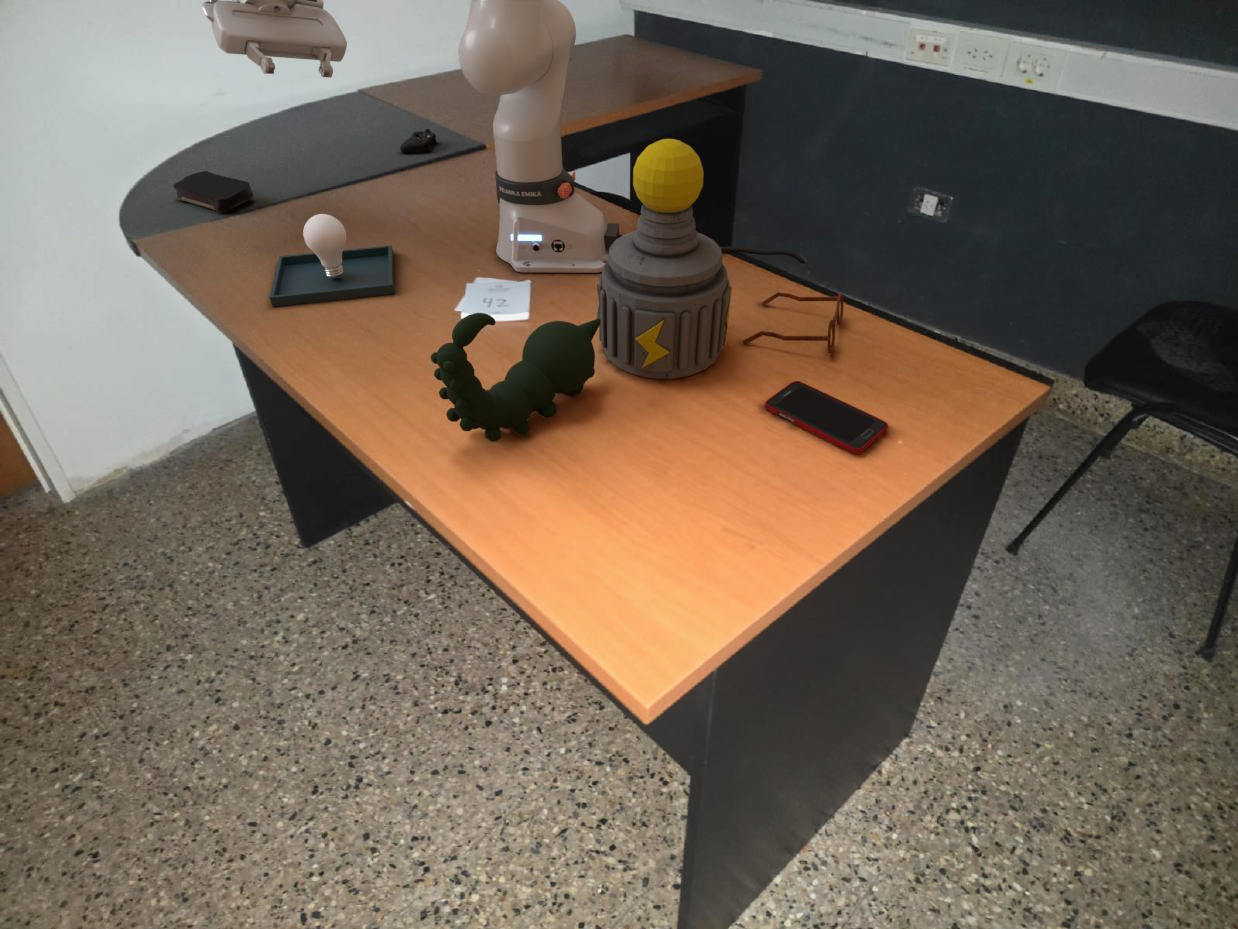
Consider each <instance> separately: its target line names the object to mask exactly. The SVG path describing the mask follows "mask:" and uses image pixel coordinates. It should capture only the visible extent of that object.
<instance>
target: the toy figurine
mask: <svg viewBox="0 0 1238 929" xmlns="http://www.w3.org/2000/svg"><path fill="white" fill-rule="evenodd" d="M496 323H497V321H496V320H495V318H494V317H493V316H491V315H490V314H488V313H484V312H474V313H470V314H468V315H466V316H464V317H463V318H462V319H460V320H459V321H458V322H456V324H455V325H454V327H453V329H452V333H451V339H452V342H447V343H444V344H443V345H441V346H440V347H439V348H438V349H437V351H435V352H433V353H431V355H430V361H431V362H432V363H433V364H435V365H437V366H438V368H436V369H435V370H434V372H433V376H434V378H435V379H436V380H437V381H440V382H442V383H443V384H444V387H441V388H440V389H439V391H438V395H439V398H441V399H442V400H449V401H450V402H451V404H453V405H454V407H450V408H449V409H448V410H447V411H446V415H445V416H446V418H447V420H448V421H449V422H451V423H453V422H455V423H457V422H459V421H460V422H459V423H458V424H459V427H460V429H461V430H462V431H464V432H470V431H472V430H477V429H481V430H482V431H484V438H485V439H487V440H488V441H489V442H490V443H496V442H498V441H499V440H500V439H501V438H502V430H501V429H502V428H503V429H513V430H514V432H515V433H516V434H517V435H520V436H523V435H527V434H528V433H529V431H530V429H531V426H530V423H529V421H528V420H529V419H530V418H531V416H532V414H533V413H536V412H537V414H538V415H540V416H541V417H543V419H546V420H549V419H551V418H554V417H555V415H556V414H557V412H558V405H557V404H556V402H554V398H556V395H560V394H562V395H565V396H570V397H575V396H577V395H580V394H581V393H582V392H583V390H584V387H585V383H587V382H588V380H590V379H591V378H593V377H594V376H595V374H596V373H595V372H596V370H595V362H596V353H595V348H594V344H593V342H592V341H593V339H594V337H595V335H596V333H597V331H598V330H599V325H600V323H601V320H600V319H596V318H595V319H592V320H590V321H587V322H584V323H581V324H579V325H577V324H575V323H572V322H570V321H564V320H553V321H549V322H546V323H543V324H541V325H540V326H538V327H537V328H535V329H534V330H533V331H532V332H531V333H530V334H529V336H528V337H527V338H526V340H525V342H524V344H523V348H522V349H523V350H522V354H521V355H522V356H521V360H520V361H518V362H516V363H515V364H513V365H512V366H511V367H510V368H509V369H508V370H507V372H506V375H505V377H504V379H503V380H501V381H499V382H496V383H494V384H493V385H492V386H491V387H490V389H485V388H484V387H483V384H482V382H481V381H480V379H479V378H478V377H477V375H475V369H474V366H473V364H472V363H471V361H469V360H468V354H467V351H466V350H465V348H464V347H467V346H469V345H470V344H471V343H473V342H474V340H475V339H476V337H477V336H478V334H479V333H480V332H481V331H482V330H483V329H484V328H486V327H487V326H495V325H496Z"/></svg>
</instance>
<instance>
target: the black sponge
mask: <svg viewBox="0 0 1238 929" xmlns="http://www.w3.org/2000/svg"><path fill="white" fill-rule="evenodd" d="M173 188H174V189H175V192H176V197H177V200H179V201H183V202H186V203H190V204H193V205H197V206H201V207H204V208H207V209H210V210H213V211H215V212H217V213H227V212H229V211H231V210H233V209H234V208H236V207H238V206H240V205H241V204H244V203H246V202H248V201H250V200H251V199H252V198H253V196H254V192H253V189H252V187H251V184H250V183H249V182H248V181H245V180H241V179H237V178H232V177H228V176H225V175H221V174H216V173H213V172H211V171H208V170H202V171H199V172H194V173H192V174H189V175H187V176H184V177H183V178H182V179H181V180H179V181H177V182H175V183H174V184H173Z"/></svg>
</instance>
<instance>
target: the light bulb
mask: <svg viewBox="0 0 1238 929" xmlns="http://www.w3.org/2000/svg"><path fill="white" fill-rule="evenodd" d="M302 236H303V240H304V243H305V244H306V246H307V247H308V249H309V250H311V252H312V253H315V254H316V255H317V256H318V258H319V259H320V261H321V264H322V265H323V266H324V267H325V268H324V270H325V273H326V275H327V277H329V278H333V279H336V278H339V277H341V276H342V275H343V267H342V252H343V250H344V248H345V245H346V242H347V231H346V228H345V226H344V224H343V223H342V222H341V221H340V220H339V219H338V218H336V217H335V216H333V215H331V214H328V213H327V214H326V213H318V214H315V215H313V216H311V217H309V219H308V220H307V221H306V222H305V223H304V226H303V232H302Z"/></svg>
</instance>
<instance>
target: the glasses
mask: <svg viewBox="0 0 1238 929" xmlns="http://www.w3.org/2000/svg"><path fill="white" fill-rule="evenodd" d="M779 297H783V298H787V299H791V300H795V301H797V302H836V310H835V311H834V314H833V316H832V319H830V320H829V323H828V327H827V335H783V334H780V333H778V332H777V333H776V332H774V331H773V332H772V331H763V330H761V331H759V332H756V333H755V334H752V335H751V336H748V337H747V338H745V339H742V342H743V344H744V345H747V344H749V343H751V342H753V341H755V340H757V339H759V338H761V337H763V336H764V337H769V338H770V337H771V338H774V339H775V338H776V339H779V340H781V341H789V342H790V341H795V342H797V341H798V342H799V341H800V342H801V341H802V342H803V341H804V342H827V352H828V354H833V352H834V349H835V343H836V342H835V341H836V325H837V326H841V325H842V322H843V317H844V293H840V292H839V293H838V294H837V296H799V295H795V294H793V293H787V292H778V291H777V292H775V293H774V294H772V295H771V296H770V297H768V298H766V299H765V300H764V301H762V302H761V303H760V304H761V305H762V306H763V307H764V306H766V305H767V304H769V303H771V302H772V301H774V300H775V299H777V298H779Z"/></svg>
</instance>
